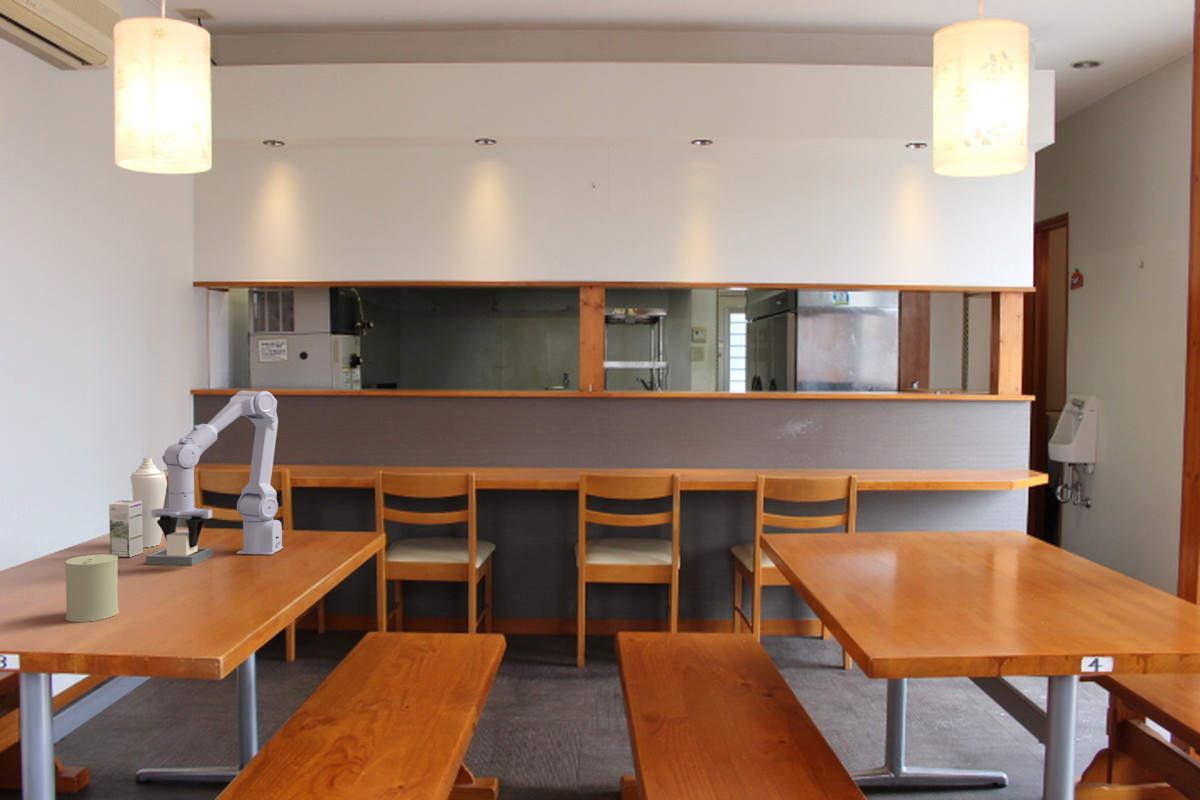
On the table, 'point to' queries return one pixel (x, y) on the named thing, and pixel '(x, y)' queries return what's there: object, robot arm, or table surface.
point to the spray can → (149, 499)
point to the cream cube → (179, 544)
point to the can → (91, 587)
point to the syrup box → (125, 528)
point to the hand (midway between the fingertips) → (182, 546)
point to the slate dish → (179, 557)
